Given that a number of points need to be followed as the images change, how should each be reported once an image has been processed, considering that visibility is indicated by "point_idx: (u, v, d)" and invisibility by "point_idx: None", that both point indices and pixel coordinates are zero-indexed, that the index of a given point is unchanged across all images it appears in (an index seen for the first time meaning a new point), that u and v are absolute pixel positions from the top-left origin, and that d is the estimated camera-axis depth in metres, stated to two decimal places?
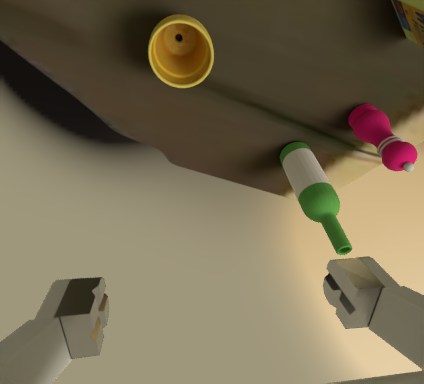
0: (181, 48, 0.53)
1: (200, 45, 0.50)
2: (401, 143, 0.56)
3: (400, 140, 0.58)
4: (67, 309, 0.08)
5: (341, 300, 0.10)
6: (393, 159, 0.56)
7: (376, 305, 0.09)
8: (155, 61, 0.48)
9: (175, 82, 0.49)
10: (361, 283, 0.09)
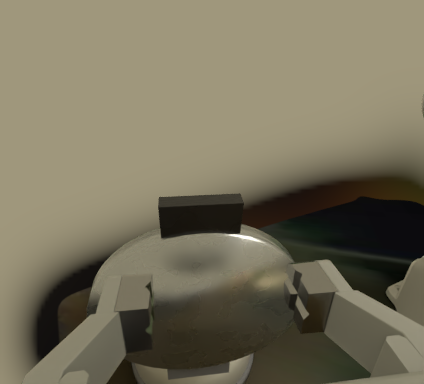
0: None
1: None
2: None
3: None
4: (125, 303, 0.08)
5: (297, 304, 0.10)
6: None
7: (330, 309, 0.09)
8: None
9: None
10: (314, 287, 0.09)
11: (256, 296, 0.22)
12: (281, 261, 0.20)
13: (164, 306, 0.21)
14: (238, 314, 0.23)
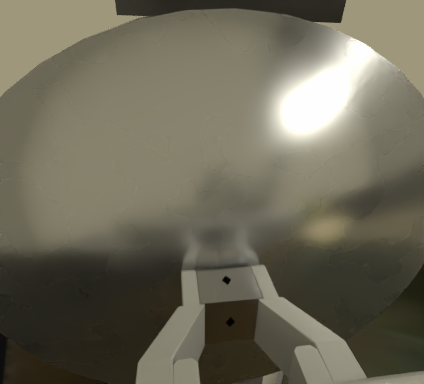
0: None
1: None
2: None
3: None
4: (208, 296, 0.09)
5: None
6: None
7: (256, 316, 0.09)
8: None
9: None
10: (239, 294, 0.09)
11: (342, 235, 0.10)
12: (421, 133, 0.08)
13: (138, 251, 0.09)
14: (297, 278, 0.11)
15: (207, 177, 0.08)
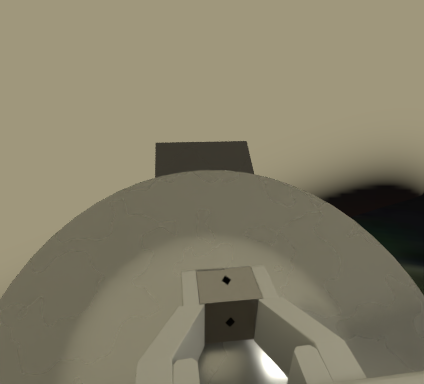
0: None
1: None
2: None
3: None
4: (207, 296, 0.09)
5: None
6: None
7: (256, 316, 0.09)
8: None
9: None
10: (239, 294, 0.09)
11: (331, 297, 0.11)
12: (330, 213, 0.14)
13: (147, 318, 0.10)
14: None
15: (202, 245, 0.12)
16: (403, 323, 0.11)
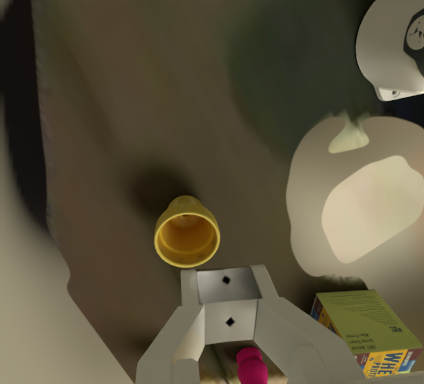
0: (179, 219, 0.53)
1: (197, 233, 0.52)
2: None
3: None
4: (207, 296, 0.09)
5: None
6: None
7: (256, 316, 0.09)
8: None
9: (161, 250, 0.46)
10: (238, 294, 0.09)
11: None
12: None
13: None
14: None
15: None
16: None
